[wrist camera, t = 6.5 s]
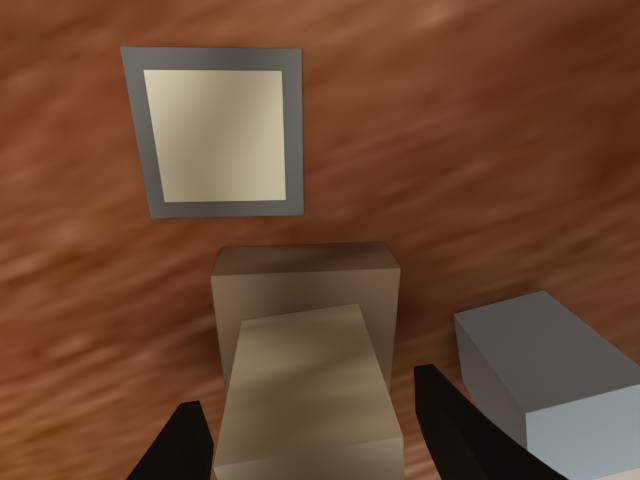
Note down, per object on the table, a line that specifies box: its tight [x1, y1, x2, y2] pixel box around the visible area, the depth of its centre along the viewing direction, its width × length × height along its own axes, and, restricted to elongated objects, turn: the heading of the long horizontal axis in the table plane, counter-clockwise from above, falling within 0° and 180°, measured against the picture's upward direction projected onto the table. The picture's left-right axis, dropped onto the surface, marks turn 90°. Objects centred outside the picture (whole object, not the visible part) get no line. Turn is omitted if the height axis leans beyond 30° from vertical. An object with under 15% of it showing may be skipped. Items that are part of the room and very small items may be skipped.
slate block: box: [453, 290, 640, 480], centre depth 16 cm, size 4×4×6 cm
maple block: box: [213, 303, 405, 480], centre depth 12 cm, size 4×4×6 cm
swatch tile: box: [120, 47, 304, 218], centre depth 14 cm, size 6×6×1 cm
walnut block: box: [210, 242, 401, 400], centre depth 16 cm, size 7×7×3 cm
